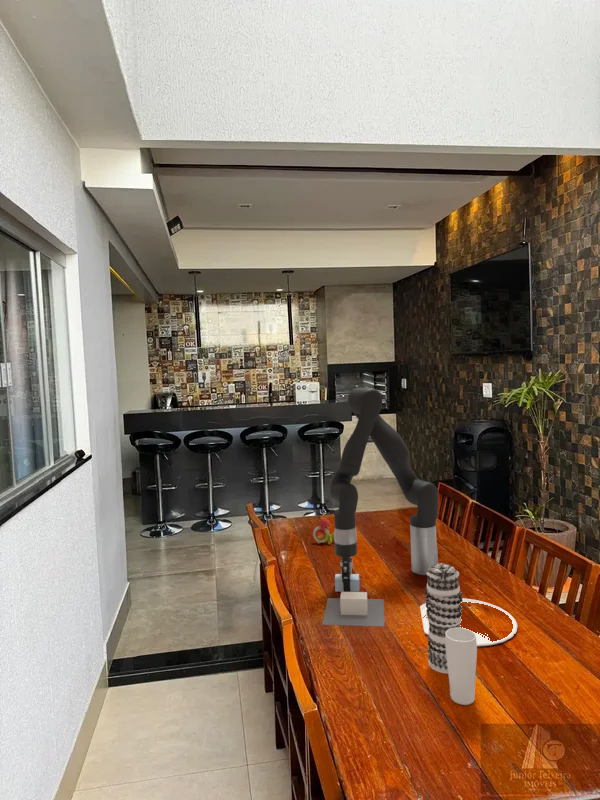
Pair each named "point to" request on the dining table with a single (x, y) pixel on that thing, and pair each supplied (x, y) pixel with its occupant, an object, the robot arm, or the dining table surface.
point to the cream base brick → (353, 603)
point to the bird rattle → (320, 534)
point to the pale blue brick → (353, 583)
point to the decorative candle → (441, 611)
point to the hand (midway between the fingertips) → (347, 589)
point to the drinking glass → (461, 664)
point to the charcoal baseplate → (371, 619)
